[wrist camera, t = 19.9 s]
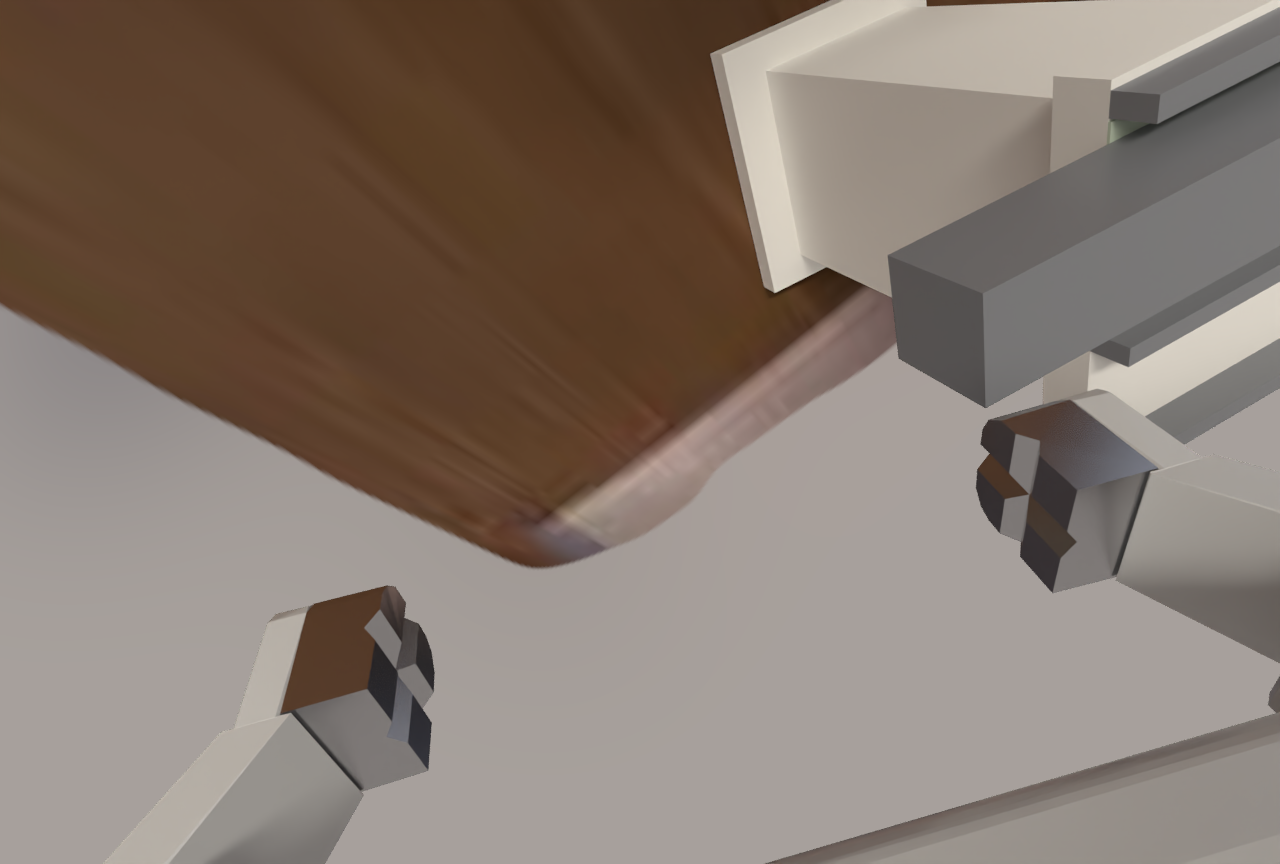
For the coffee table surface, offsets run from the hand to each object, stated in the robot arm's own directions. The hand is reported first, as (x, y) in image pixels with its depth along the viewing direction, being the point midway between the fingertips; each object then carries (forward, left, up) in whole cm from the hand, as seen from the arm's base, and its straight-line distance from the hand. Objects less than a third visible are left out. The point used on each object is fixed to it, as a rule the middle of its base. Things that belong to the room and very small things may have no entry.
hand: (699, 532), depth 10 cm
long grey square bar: (+5, +20, -9) cm, 22 cm away
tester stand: (+9, +25, -35) cm, 44 cm away
